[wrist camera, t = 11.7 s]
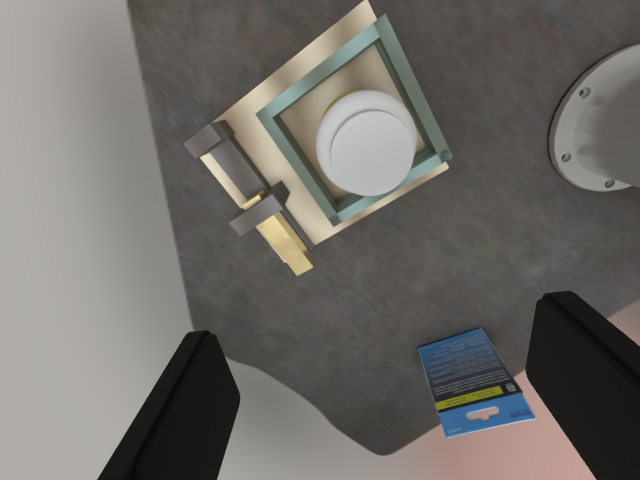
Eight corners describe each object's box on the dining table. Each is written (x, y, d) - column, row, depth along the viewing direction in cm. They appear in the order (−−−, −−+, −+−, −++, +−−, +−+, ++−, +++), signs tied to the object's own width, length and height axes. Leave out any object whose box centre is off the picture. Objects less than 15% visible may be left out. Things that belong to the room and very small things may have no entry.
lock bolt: (262, 188, 29) (258, 194, 27) (314, 257, 32) (313, 267, 30) (247, 199, 30) (241, 206, 28) (299, 266, 33) (297, 275, 31)
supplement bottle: (314, 157, 29) (300, 198, 18) (329, 82, 27) (325, 74, 15) (380, 172, 30) (408, 222, 18) (402, 100, 27) (452, 106, 15)
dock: (365, 2, 25) (373, -24, 19) (444, 165, 30) (468, 181, 25) (192, 140, 30) (161, 150, 25) (286, 257, 36) (277, 287, 30)
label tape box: (425, 364, 43) (456, 460, 31) (415, 345, 41) (444, 437, 30) (488, 345, 40) (546, 440, 29) (481, 324, 39) (538, 415, 28)
